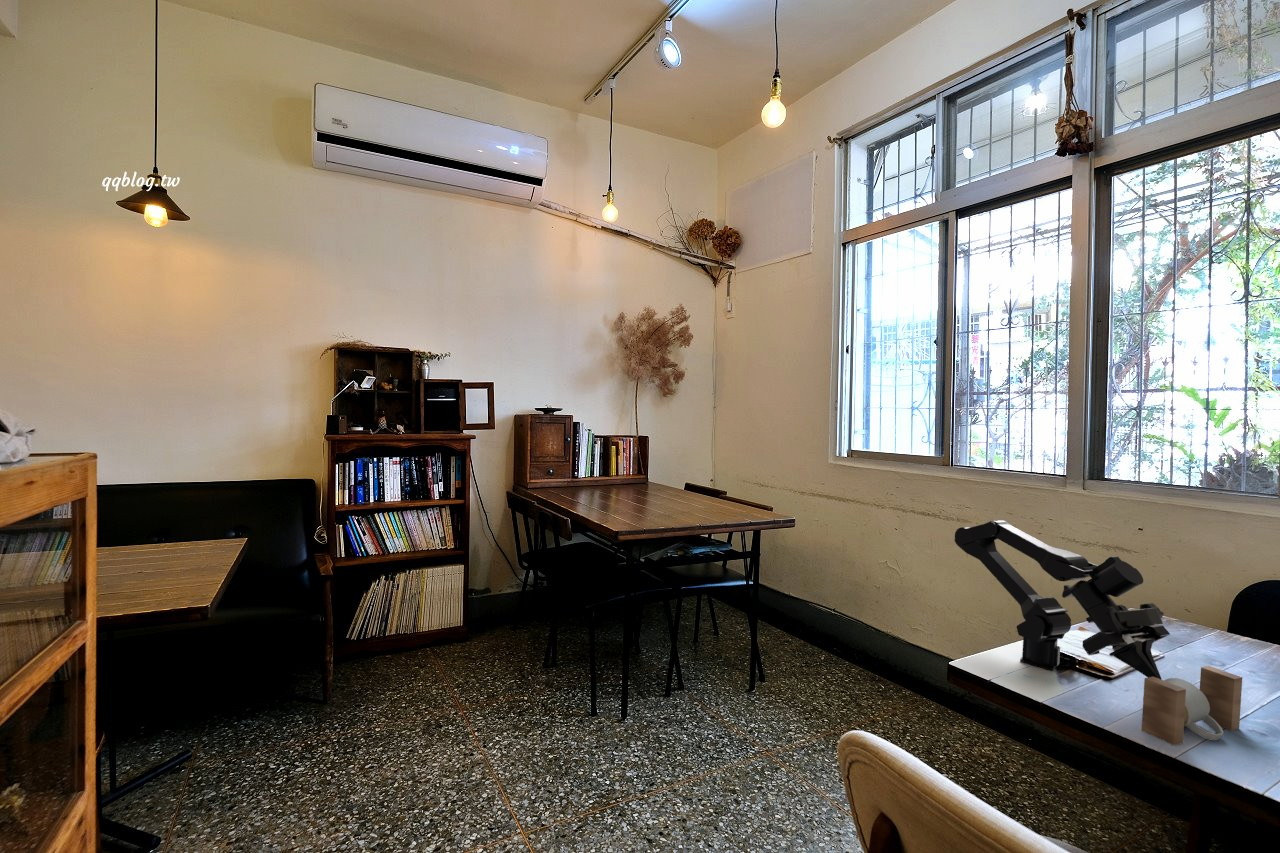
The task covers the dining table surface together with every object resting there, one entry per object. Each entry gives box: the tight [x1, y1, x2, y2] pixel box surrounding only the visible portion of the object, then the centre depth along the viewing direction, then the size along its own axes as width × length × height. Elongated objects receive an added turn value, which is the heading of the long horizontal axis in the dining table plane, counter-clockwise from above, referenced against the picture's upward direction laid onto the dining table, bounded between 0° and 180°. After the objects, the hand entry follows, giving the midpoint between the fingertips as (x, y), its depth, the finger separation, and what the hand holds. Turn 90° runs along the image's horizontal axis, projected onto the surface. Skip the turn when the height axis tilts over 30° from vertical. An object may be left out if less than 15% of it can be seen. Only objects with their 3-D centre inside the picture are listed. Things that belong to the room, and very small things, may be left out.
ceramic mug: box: [1163, 677, 1224, 741], centre depth 107 cm, size 11×8×8 cm
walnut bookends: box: [1141, 665, 1243, 746], centre depth 106 cm, size 5×20×10 cm, turn 109°
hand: (1158, 681), depth 111 cm, fingers closed
